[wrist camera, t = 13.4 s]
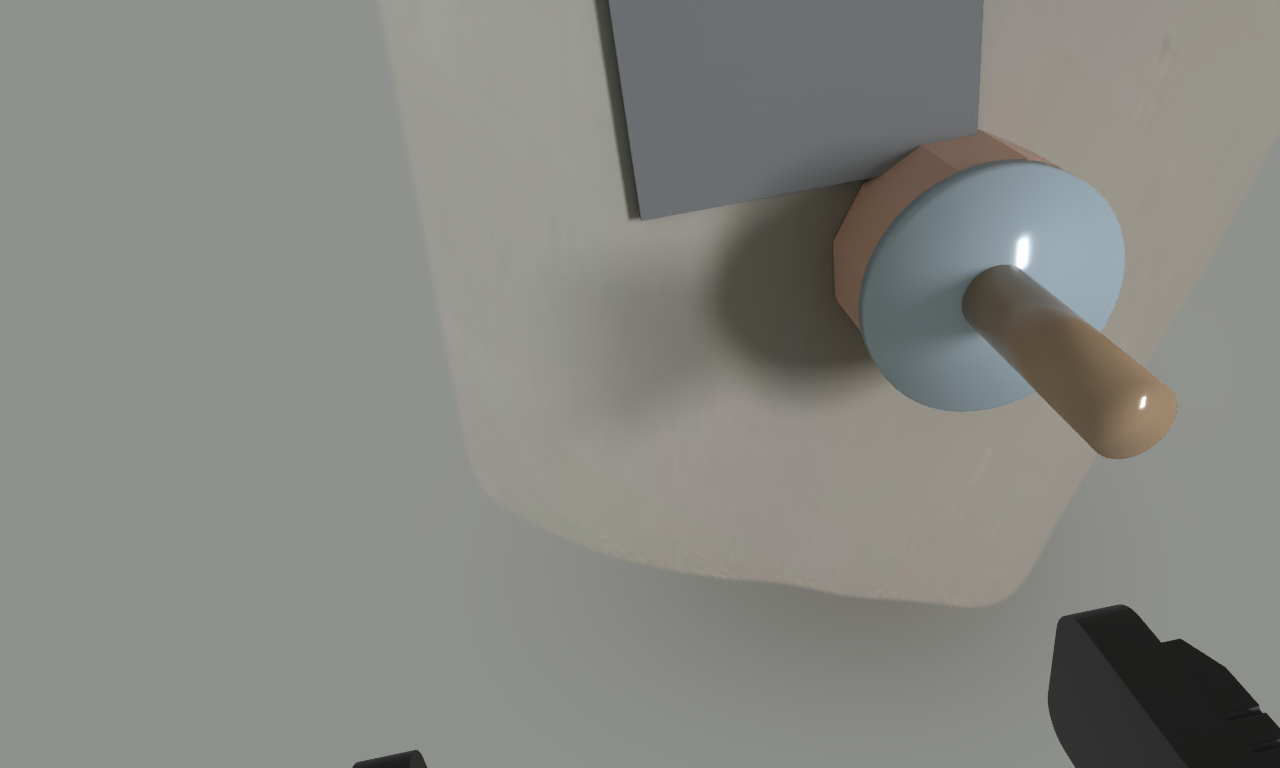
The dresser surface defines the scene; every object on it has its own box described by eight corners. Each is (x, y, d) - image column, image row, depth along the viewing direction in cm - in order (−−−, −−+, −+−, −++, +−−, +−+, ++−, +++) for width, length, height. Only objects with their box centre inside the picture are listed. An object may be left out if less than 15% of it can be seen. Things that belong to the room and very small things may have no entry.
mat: (580, -182, 31) (581, -182, 30) (990, -250, 31) (995, -251, 31) (640, 217, 38) (641, 220, 37) (971, 155, 38) (976, 158, 38)
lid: (854, 188, 34) (975, 303, 26) (1125, 135, 34) (1334, 231, 26) (861, 420, 39) (964, 580, 31) (1095, 372, 40) (1261, 517, 31)
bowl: (830, 158, 38) (863, 189, 34) (1066, 114, 38) (1123, 141, 35) (837, 368, 43) (867, 414, 39) (1045, 328, 43) (1093, 369, 40)
